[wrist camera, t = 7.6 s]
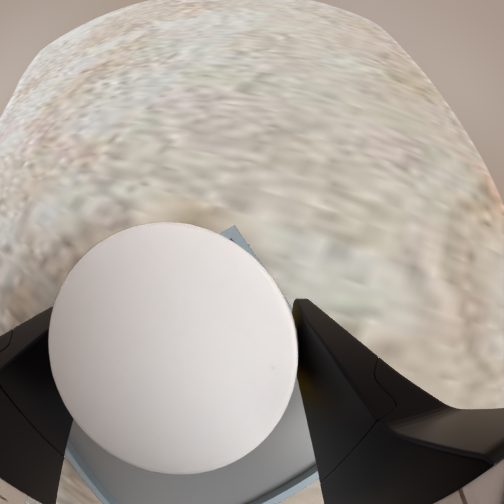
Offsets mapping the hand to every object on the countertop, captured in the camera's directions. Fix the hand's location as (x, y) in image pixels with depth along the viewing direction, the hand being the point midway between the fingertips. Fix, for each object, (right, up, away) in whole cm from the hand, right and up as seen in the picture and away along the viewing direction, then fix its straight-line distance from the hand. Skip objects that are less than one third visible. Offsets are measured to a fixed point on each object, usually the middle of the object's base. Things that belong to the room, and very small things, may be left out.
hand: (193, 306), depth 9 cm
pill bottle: (-1, -4, +6) cm, 7 cm away
